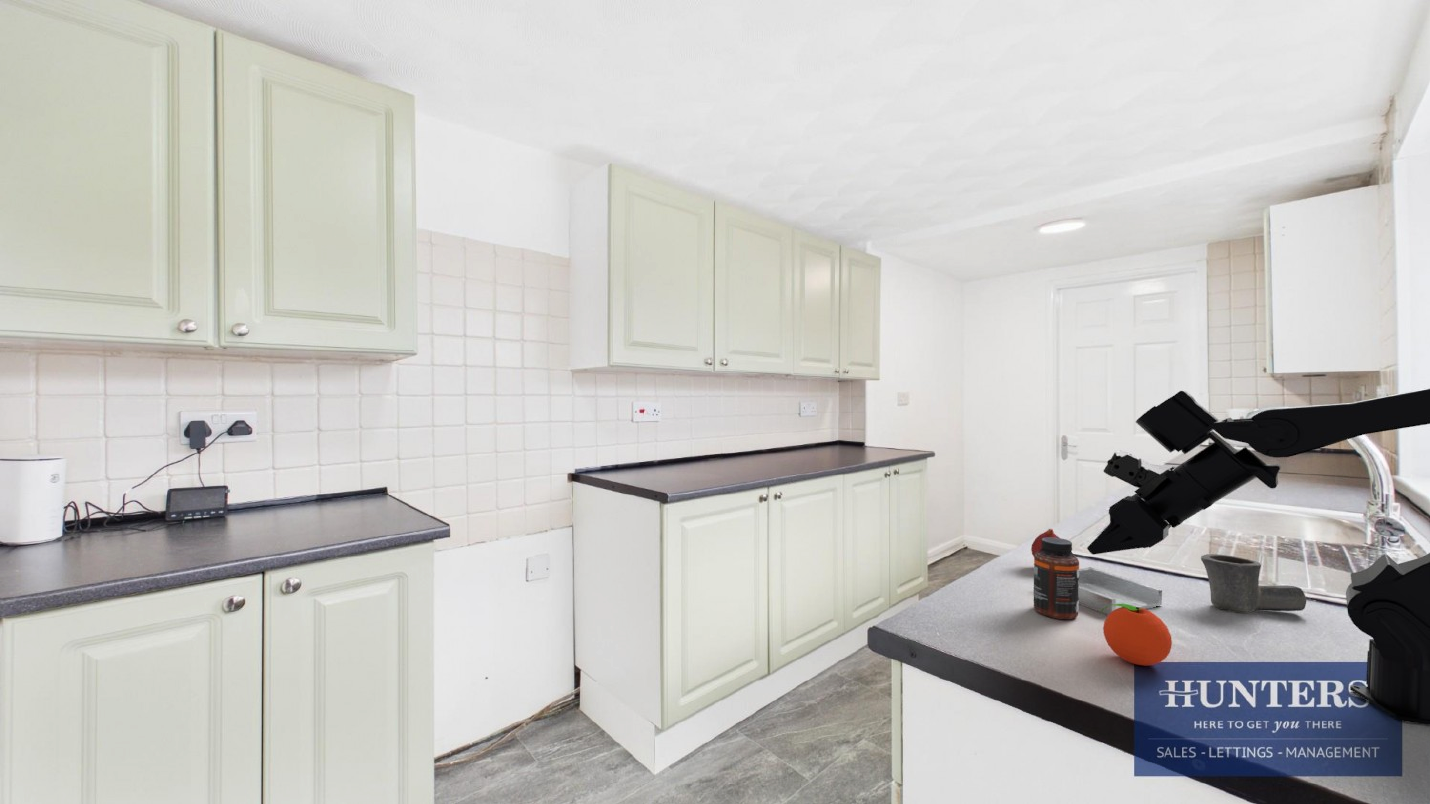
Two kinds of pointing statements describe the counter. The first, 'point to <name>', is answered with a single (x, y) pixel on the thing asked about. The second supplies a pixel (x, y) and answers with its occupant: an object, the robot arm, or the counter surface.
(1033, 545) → the onion
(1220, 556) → the pipe
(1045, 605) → the supplement bottle
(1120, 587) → the aluminium tray
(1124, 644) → the clementine
